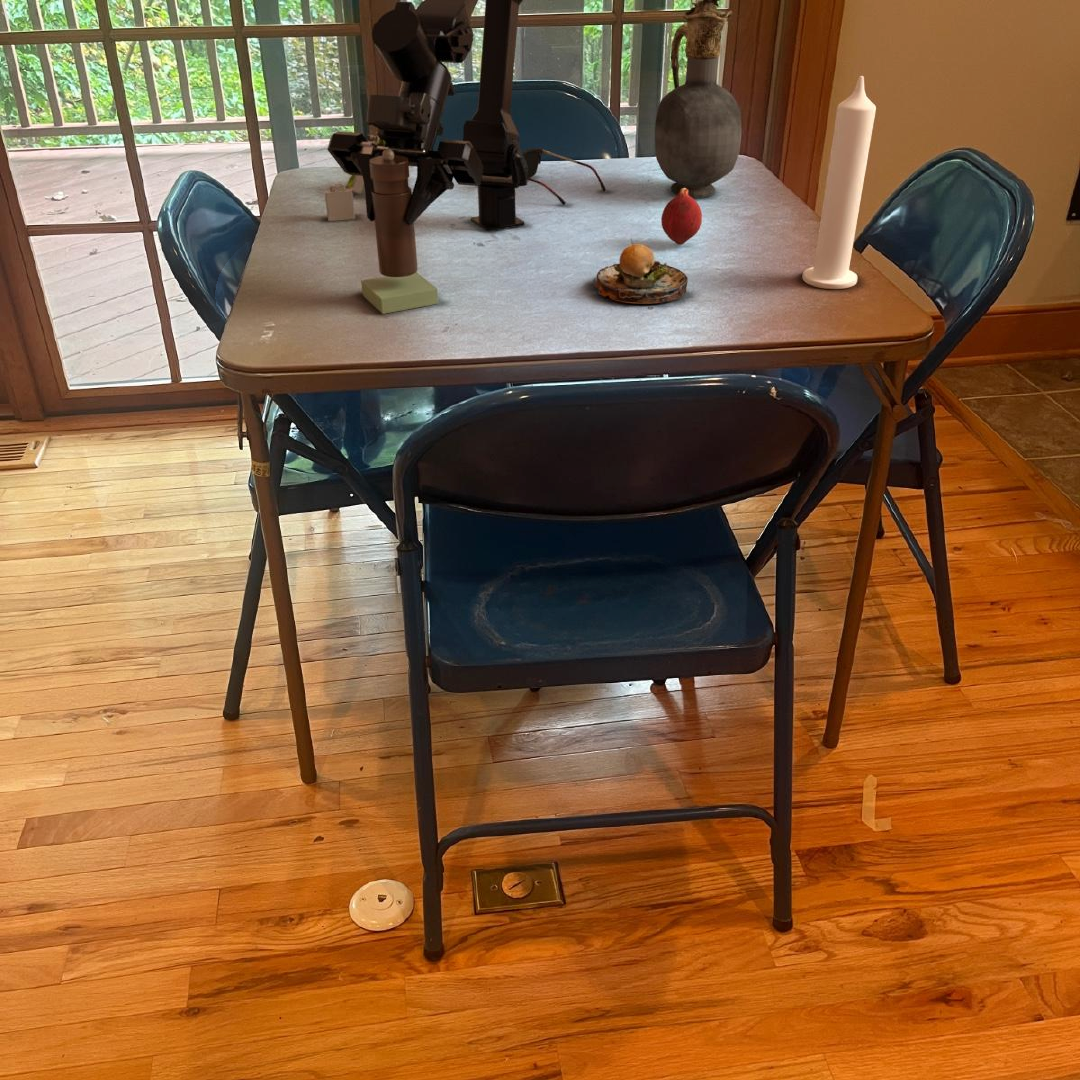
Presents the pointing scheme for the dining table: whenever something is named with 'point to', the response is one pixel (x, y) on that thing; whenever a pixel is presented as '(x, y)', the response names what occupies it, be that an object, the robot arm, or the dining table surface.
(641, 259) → the wood slice pumpkin decoration
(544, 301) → the dining table surface
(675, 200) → the onion
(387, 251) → the pepper mill
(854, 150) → the candle
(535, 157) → the sunglasses
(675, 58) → the pitcher
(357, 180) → the lighter
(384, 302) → the riser block
